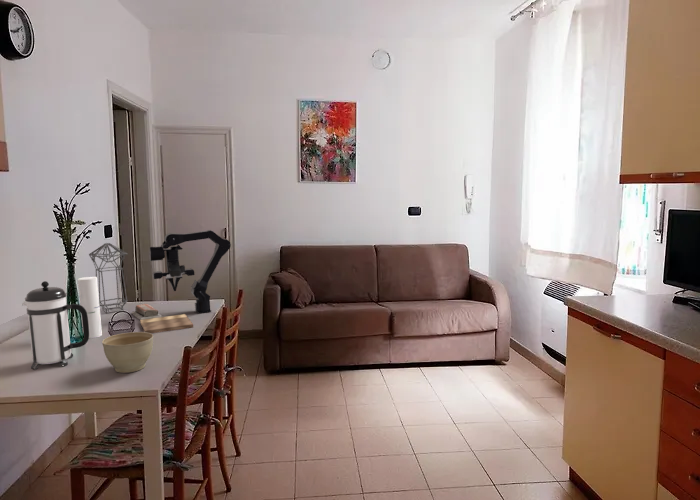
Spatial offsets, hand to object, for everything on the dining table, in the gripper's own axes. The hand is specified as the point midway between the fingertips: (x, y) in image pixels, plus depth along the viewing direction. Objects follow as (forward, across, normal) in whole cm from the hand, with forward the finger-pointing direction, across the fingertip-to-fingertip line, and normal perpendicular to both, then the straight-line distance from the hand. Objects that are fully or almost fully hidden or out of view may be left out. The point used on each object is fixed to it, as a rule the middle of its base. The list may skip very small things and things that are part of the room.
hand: (174, 291), depth 249 cm
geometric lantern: (+12, -27, +28) cm, 41 cm away
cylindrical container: (+12, -37, -18) cm, 43 cm away
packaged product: (+13, -13, +7) cm, 19 cm away
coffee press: (+12, -49, -49) cm, 70 cm away
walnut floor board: (+12, -7, -20) cm, 25 cm away
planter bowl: (+12, -26, -70) cm, 76 cm away
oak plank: (+12, -7, -10) cm, 17 cm away
